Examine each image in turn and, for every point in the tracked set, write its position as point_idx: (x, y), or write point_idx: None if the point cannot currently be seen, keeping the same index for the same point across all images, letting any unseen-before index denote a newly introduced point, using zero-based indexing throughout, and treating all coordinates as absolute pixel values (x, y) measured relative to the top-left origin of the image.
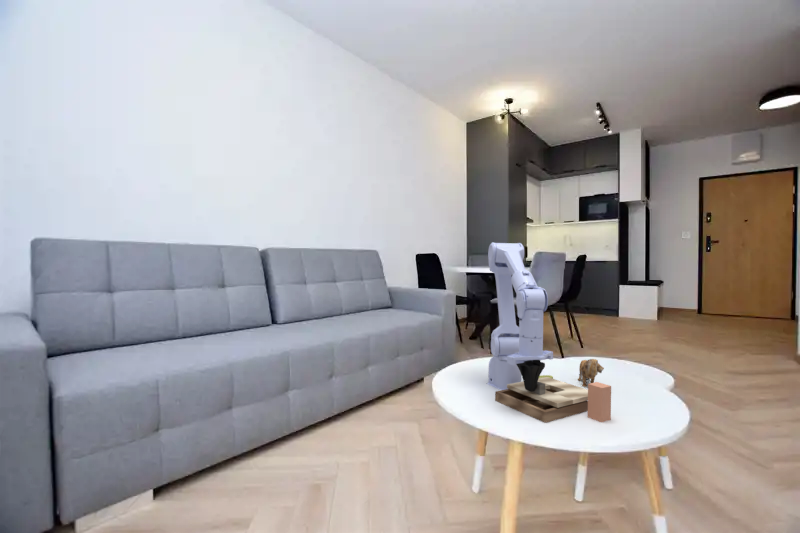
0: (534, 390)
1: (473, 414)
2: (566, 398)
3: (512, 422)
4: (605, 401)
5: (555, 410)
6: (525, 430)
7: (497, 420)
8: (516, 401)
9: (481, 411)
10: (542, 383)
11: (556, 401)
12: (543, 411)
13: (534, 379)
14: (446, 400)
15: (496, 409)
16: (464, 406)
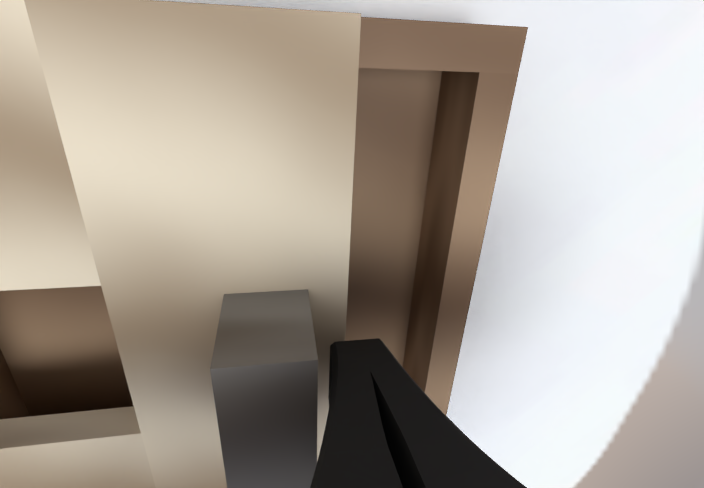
0: (342, 343)
1: (628, 336)
2: (85, 81)
3: (585, 179)
4: None
5: (377, 20)
6: (645, 47)
7: (617, 237)
8: (460, 321)
9: (567, 351)
10: (229, 391)
11: (309, 73)
12: (522, 52)
13: (409, 430)
14: (567, 479)
15: (485, 346)
16: (571, 416)
